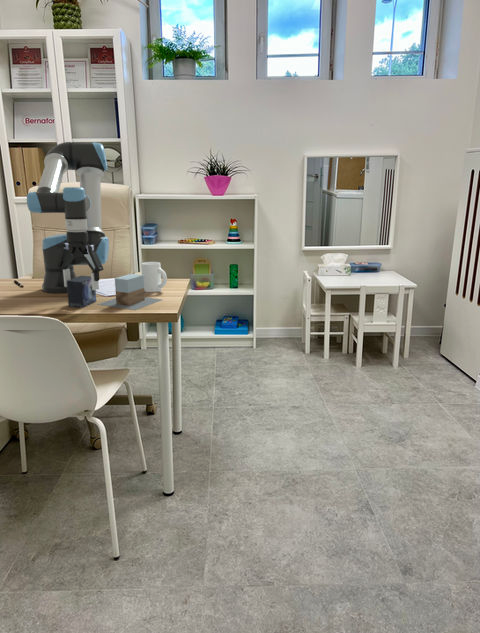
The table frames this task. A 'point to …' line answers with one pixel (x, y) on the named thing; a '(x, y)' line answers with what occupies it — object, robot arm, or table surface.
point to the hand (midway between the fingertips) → (81, 287)
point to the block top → (129, 283)
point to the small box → (80, 292)
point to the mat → (132, 307)
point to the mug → (153, 276)
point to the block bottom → (130, 297)
